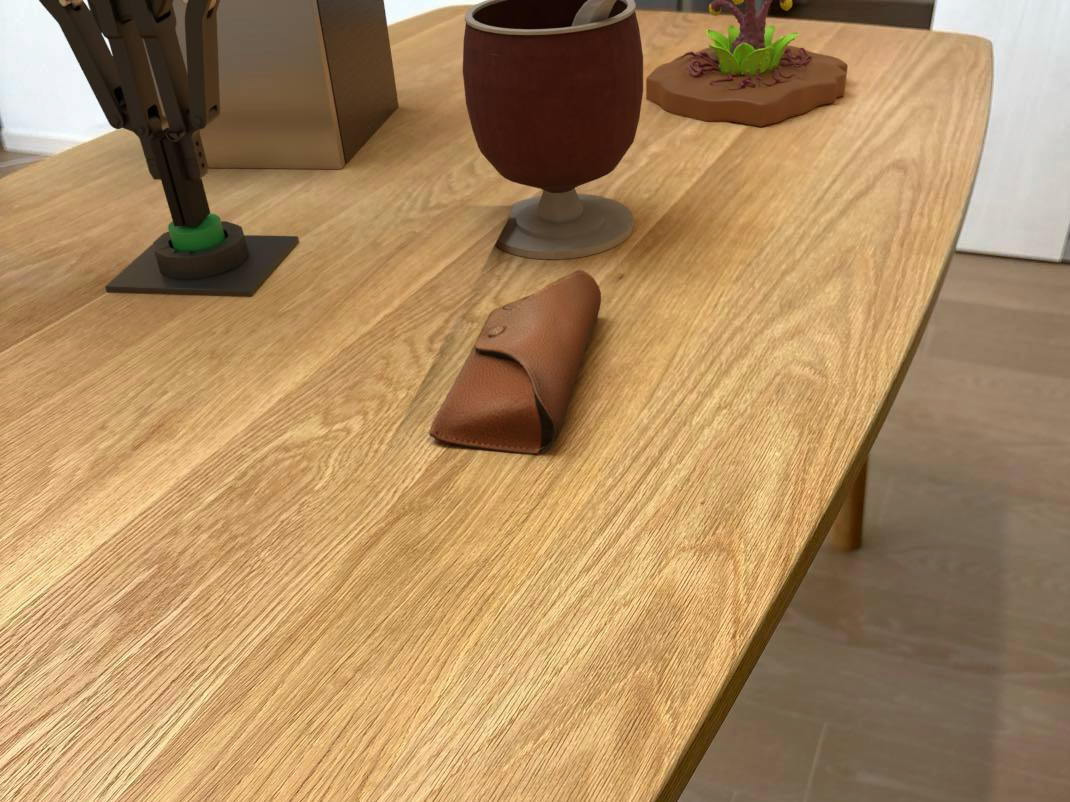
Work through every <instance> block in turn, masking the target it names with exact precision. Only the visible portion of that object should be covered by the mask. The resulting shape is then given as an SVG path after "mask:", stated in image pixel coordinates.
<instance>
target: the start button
mask: <svg viewBox="0 0 1070 802" xmlns="http://www.w3.org/2000/svg"><path fill="white" fill-rule="evenodd" d="M221 221H222V220H221V217H220V216H219V215H218V214H216V213H212V212H210V214H209V215H208V216H207V217H205V218H204V219H203V220H202V221H201V222H200V223H199V224H198V225H197V226H196V227H186V224H185V225H184V226H183V227H182V226H174V224H173V220H172V221H170V222H169V224H168V225H167V230H168V231H169V234H170V237H171V241H172V244H173V248H174V249H175V250H178V251H196V250H202V249H207V248H211V247H213V246H216V245H218V244H220V243H222V242H223V241H224V240H225V235H224V231H223V227H222V223H221Z"/></svg>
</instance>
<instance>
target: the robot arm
mask: <svg viewBox="0 0 1070 802" xmlns="http://www.w3.org/2000/svg"><path fill="white" fill-rule="evenodd" d="M88 1H89V3H90V4H91V5H92V6H93V7H94V8H95V9H96V13H97V16H98V20H99V24H100V27H101V31H102V33H101V31H100V29H99V27H98V25H97V23H96V21H95V19H94V17H93V15H92V13H91V11H90V9H89V6H88V4H86V2H85V1H84V0H38V2H39V3H40V4H41V5H42V6H43V7H44V9H45V10H46V11H47V12H48V14H49V15H50V16H51V17H52V18H53V19H54V20H55V22H57V24H58V25H59V27H60V29H61V31H62V34H63V35H64V38H65V39H66V41H67V43H68V45H69V48H70V50H71V51H72V53H73V55H74V57H75V59H76V61H77V63H78V65H79V67H80V69H81V71H82V73H83V75H84V77H85V78H86V81H87V83H88V85H89V86H90V89H91V90H92V93H93V95H94V97H95V99H96V101H97V103H98V105H99V106H100V109H101V110H102V112H103V114H104V116H105V118H106V120H107V122H108V124H109V126H110V127H112V128H113V129H115V130H121V129H124V130H127V131H129V132H132V133H134V135H136V137H138V139H139V141H140V144H141V148H142V151H143V155H144V158H145V162H146V165H147V168H148V169H147V170H148V173H149V175H150V176H151V178H152V179H153V180H160V181H161V185H162V188H163V192H164V196H165V199H166V202H167V205H168V209H169V213H170V217H171V220H172V221H173V224H174V226H182V227H183V226H184V225H185V224H186V227H196V226H197V225H198V224H199V223H200V222H201V221H202V220H203V219H204V218H205V217H207V216H208V215H209V214H210V213H211V209H210V206H209V202H208V198H207V194H206V191H205V186H204V182H203V179H202V178H203V177H204V176H206V175H207V174H208V172H209V171H208V170H209V168H208V164H207V160H206V156H205V152H204V148H203V144H202V140H201V137H200V129H203V128H205V127H206V126H207V125H209V124H210V123H211V122H213V121H214V120H215V119H216V118H218V117H219V115H220V93H219V65H218V38H217V9H218V6H219V2H220V0H182V2H183V3H184V4H187V6H186V11H185V36H186V54H187V71H186V67H185V63H184V60H183V56H182V52H181V48H180V45H179V41H178V37H177V34H176V24H177V21H176V16H175V12H174V9H173V5H172V3H173V0H88ZM105 39H107V41H108V43H107V41H106V40H105ZM143 39H144V42H145V46H146V49H147V53H148V56H149V60H150V63H151V66H152V70H153V73H154V77H155V80H156V84H157V87H158V91H159V94H160V98H161V101H162V105H163V108H164V112H165V115H166V117H165V116H163V115H162V111H161V107H160V103H159V100H158V96H157V92H156V88H155V84H154V80H153V76H152V73H151V69H150V65H149V61H148V57H147V53H146V49H145V46H144V42H143ZM108 44H109V45H108ZM187 72H188V75H187ZM167 122H168V126H169V128H166V129H164V130H163V129H162V126H163V125H164V124H166V123H167Z"/></svg>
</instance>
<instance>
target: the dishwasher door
mask: <svg viewBox="0 0 1070 802" xmlns="http://www.w3.org/2000/svg"><path fill="white" fill-rule="evenodd" d="M86 2H87V6H88V8H89V10H90V11H91V13H92V15H93V17H94V19H95V21H96V23H97V25H98V27H99V29H100V31H101V27H100V24H99V20H98V16H97V13H96V9H95V8H94V7H93V6H92V5H91V4H90V3H89V1H88V0H86ZM172 5H173V9H174V12H175V16H176V21H177V24H176V34H177V37H178V41H179V45H180V48H181V52H182V56H183V60H184V63H185V67H186V71H187V54H186V36H185V11H186V6H187V4H184V3H183V2H182V0H173V3H172ZM101 33H102V31H101ZM217 38H218V65H219V93H220V115H219V117H218V118H216V119H215V120H214V121H213V122H211V123H210V124H209V125H207V126H206V127H205V128H203V129H200V137H201V140H202V144H203V148H204V152H205V156H206V160H207V164H208V169H279V170H281V169H282V170H283V169H284V170H285V169H287V170H288V169H289V170H290V169H291V170H293V169H294V170H295V169H297V170H301V169H302V170H342V169H343V168H344V167H345V166H346V165H345V160H344V154H343V149H342V143H341V137H340V132H339V126H338V120H337V115H336V109H335V103H334V98H333V92H332V86H331V81H330V75H329V69H328V64H327V58H326V52H325V47H324V41H323V35H322V30H321V24H320V19H319V13H318V7H317V2H316V0H220V2H219V6H218V9H217ZM143 42H144V39H143ZM144 46H145V42H144ZM145 49H146V46H145ZM146 53H147V49H146ZM147 57H148V61H149V65H150V69H151V73H152V76H153V80H154V84H155V88H156V92H157V96H158V100H159V103H160V107H161V111H162V115H163V116H165V117H166V115H165V112H164V108H163V105H162V101H161V98H160V94H159V91H158V87H157V84H156V80H155V77H154V73H153V70H152V66H151V63H150V60H149V56H148V53H147ZM187 75H188V72H187ZM166 128H169V126H168V122H167V123H166V124H164V125H163V126H162V129H163V130H164V129H166Z"/></svg>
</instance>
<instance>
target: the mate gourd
mask: <svg viewBox="0 0 1070 802" xmlns="http://www.w3.org/2000/svg"><path fill="white" fill-rule="evenodd" d="M636 8H637V5H636V1H635V0H484V1H481V2H478V3H477V4H474V5H473V6H471V7H470V8H468V9H467V10H466V11H465V13H464V21H465V26H464V34H463V48H462V49H463V50H462V54H463V55H462V77H463V88H464V99H465V105H466V106H465V107H466V110H467V113H468V118H469V122H470V126H471V130H472V134H473V136H474V138H475V139H474V140H475V141H476V142H475V143H476V144H477V147H478V150H479V151H480V153H481V154H482V155H483V156H484V158H485V159H486V160H487V161H488V162H489V164H490V165H491V166H492V167H493V168H494V169H495V171H497V172H498V174H499V175H500V176H501V177H502V178H503V179H505V180H508V181H510V182H512V183H515V184H519V185H523V186H525V187H526V186H527V187H531V188H535V189H540V190H542V193H541V195H539V196H533V197H529V198H526V199H522V200H520V201H516V202H513V203H511V204H510V205H508V207H513V209H512V211H511V213H510V215H509V217H508V219H507V221H506V222H505V225H504V226H503V228H502V230H501V232H500V234H499V236H498V238H497V240H496V241H495V243H494V246H495V247H497V249H500V250H502V251H503V252H505V253H509V254H511V255H514V256H518V257H523V258H527V259H536V260H568V259H576V258H583V257H588V256H592V255H596V254H600V253H603V252H606V251H609V250H611V249H613V248H615V247H617V246H619V245H621V244H622V243H624V242H625V241H626V240H627V239H629V237H630V236H631V235H632V233H633V230H634V227H635V225H634V224H635V223H634V222H635V221H634V215H633V212H632V211H631V210H630V208H629V207H628V206H626V205H624V204H623V203H621V202H620V201H617V200H615V199H613V198H612V199H611V198H609V197H605V196H601V195H600V196H599V195H596V194H595V195H594V194H587V193H577V190H576V188H579V187H580V186H584V185H586V184H589V183H591V182H594V181H596V180H599V179H601V178H603V177H605V176H608V175H609V174H611V172H613V171H614V170H615V169H616V168H617V167H618V165H619V163H620V162H621V161H622V159H623V158H624V157H625V155H626V154H627V152H628V151H629V149H630V148H631V146H632V145H633V143H634V142H635V138H636V136H637V135H636V134H637V131H638V126H639V122H640V117H641V111H642V102H643V94H644V53H643V47H642V38H641V32H640V31H641V30H640V26H639V22H638V18H637V13H636Z"/></svg>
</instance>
